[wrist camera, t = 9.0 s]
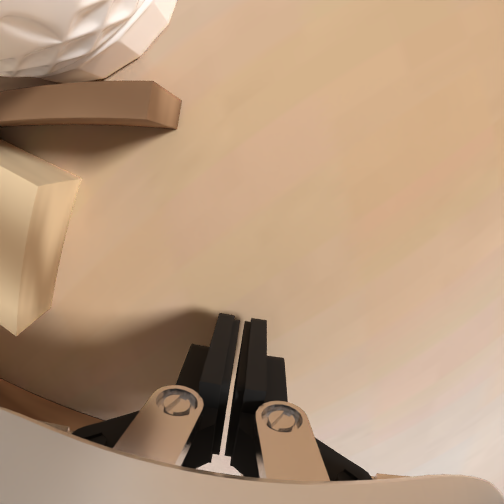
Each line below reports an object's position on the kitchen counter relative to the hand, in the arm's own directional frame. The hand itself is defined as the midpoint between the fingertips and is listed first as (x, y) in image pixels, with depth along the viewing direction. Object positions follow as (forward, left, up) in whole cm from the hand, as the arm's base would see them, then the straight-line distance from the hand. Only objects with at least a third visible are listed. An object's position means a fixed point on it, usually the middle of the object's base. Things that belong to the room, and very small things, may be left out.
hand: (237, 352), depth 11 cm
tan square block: (+3, +10, -1) cm, 11 cm away
